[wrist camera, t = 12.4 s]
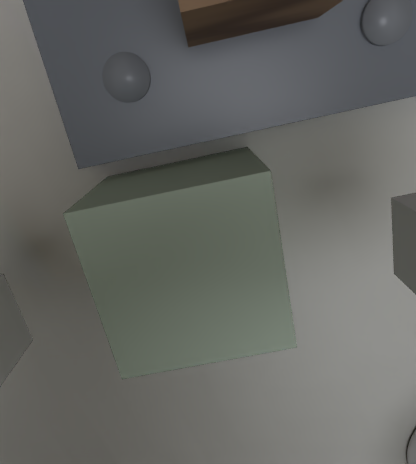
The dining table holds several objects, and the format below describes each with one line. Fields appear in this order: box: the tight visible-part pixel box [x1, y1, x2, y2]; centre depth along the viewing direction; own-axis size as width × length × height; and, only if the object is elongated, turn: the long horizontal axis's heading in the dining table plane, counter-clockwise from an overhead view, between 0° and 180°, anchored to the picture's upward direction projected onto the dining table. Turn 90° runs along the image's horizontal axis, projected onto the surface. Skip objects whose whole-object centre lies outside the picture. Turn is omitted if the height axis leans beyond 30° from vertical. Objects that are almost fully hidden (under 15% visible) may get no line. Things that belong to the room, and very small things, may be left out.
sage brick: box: [63, 147, 297, 379], centre depth 15 cm, size 6×6×6 cm
